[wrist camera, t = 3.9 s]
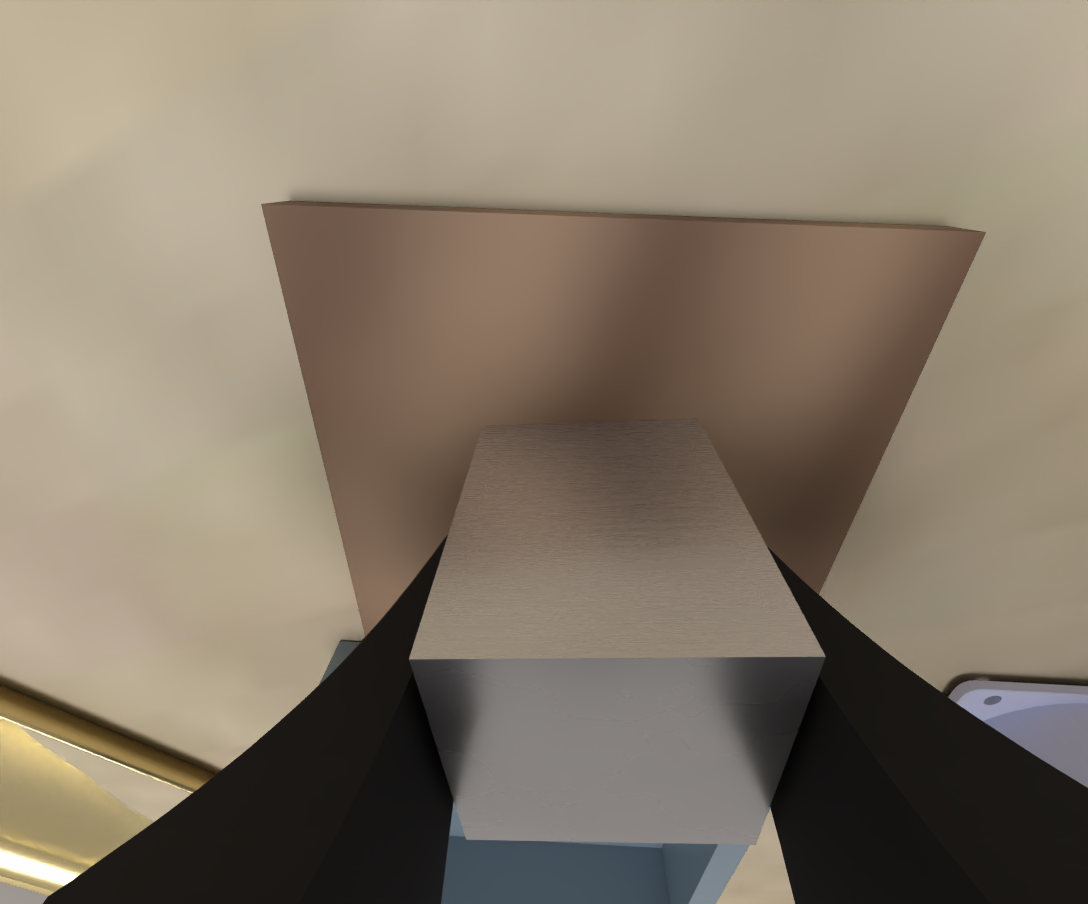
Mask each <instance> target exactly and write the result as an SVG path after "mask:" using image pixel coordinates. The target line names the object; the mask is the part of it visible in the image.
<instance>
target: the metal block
mask: <svg viewBox="0 0 1088 904" xmlns="http://www.w3.org/2000/svg"><path fill="white" fill-rule="evenodd" d="M825 657H826V656H825V654H824V652H823V650H822V649H821V647H820V645H819V643H818V641H817V639H816V637H815V635H814V634H813V632H812V630H811V628H810V626H809V624H808V622H807V621H806V619H805V617H804V615H803V613H802V611H801V609H800V607H799V606H798V604H797V602H796V600H795V598H794V596H793V594H792V593H791V591H790V589H789V587H788V585H787V583H786V581H785V579H784V578H783V576H782V574H781V572H780V570H779V568H778V566H777V565H776V563H775V561H774V559H773V557H772V555H771V553H770V551H769V550H768V548H767V546H766V544H765V542H764V540H763V538H762V537H761V535H760V533H759V531H758V529H757V527H756V525H755V523H754V522H753V520H752V518H751V516H750V514H749V512H748V510H747V509H746V507H745V505H744V503H743V501H742V499H741V497H740V495H739V494H738V492H737V490H736V488H735V486H734V484H733V482H732V480H731V479H730V477H729V475H728V473H727V471H726V469H725V467H724V466H723V464H722V462H721V460H720V458H719V456H718V454H717V452H716V451H715V449H714V447H713V445H712V443H711V441H710V439H709V438H708V436H707V434H706V432H705V430H704V428H703V426H702V424H701V423H700V421H699V419H698V418H679V419H652V420H625V421H598V422H571V423H544V424H517V425H489V426H482V429H481V432H480V436H479V439H478V442H477V445H476V448H475V451H474V455H473V458H472V461H471V464H470V467H469V470H468V474H467V477H466V480H465V483H464V486H463V489H462V493H461V496H460V499H459V502H458V505H457V508H456V512H455V515H454V518H453V521H452V524H451V527H450V531H449V534H448V537H447V540H446V543H445V546H444V550H443V553H442V556H441V559H440V562H439V565H438V569H437V572H436V575H435V578H434V581H433V584H432V588H431V591H430V594H429V597H428V600H427V603H426V607H425V610H424V613H423V616H422V619H421V622H420V626H419V629H418V632H417V635H416V638H415V641H414V645H413V648H412V651H411V654H410V657H409V661H410V665H411V668H412V671H413V674H414V677H415V680H416V683H417V687H418V690H419V693H420V696H421V699H422V702H423V705H424V709H425V712H426V715H427V718H428V721H429V724H430V727H431V731H432V734H433V737H434V740H435V743H436V746H437V749H438V753H439V756H440V759H441V762H442V765H443V768H444V771H445V775H446V778H447V781H448V784H449V787H450V790H451V793H452V796H453V800H454V803H455V806H456V809H457V812H458V815H459V818H460V822H461V825H462V828H463V831H464V834H465V837H466V840H509V841H568V842H627V843H686V844H745V845H756V842H757V840H758V837H759V834H760V832H761V829H762V826H763V824H764V821H765V818H766V816H767V813H768V810H769V808H770V805H771V802H772V800H773V797H774V794H775V791H776V789H777V786H778V783H779V781H780V778H781V775H782V773H783V770H784V767H785V765H786V762H787V759H788V757H789V754H790V751H791V749H792V746H793V743H794V741H795V738H796V735H797V733H798V730H799V727H800V724H801V722H802V719H803V716H804V714H805V711H806V708H807V706H808V703H809V700H810V698H811V695H812V692H813V690H814V687H815V684H816V682H817V679H818V676H819V674H820V671H821V668H822V666H823V663H824V660H825Z"/></svg>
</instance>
